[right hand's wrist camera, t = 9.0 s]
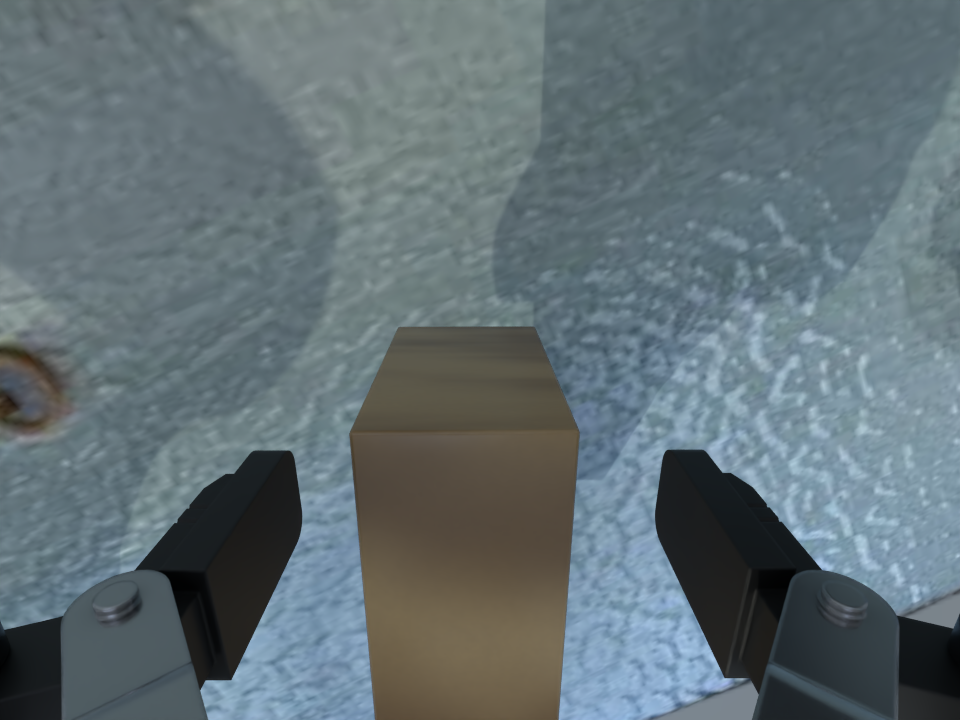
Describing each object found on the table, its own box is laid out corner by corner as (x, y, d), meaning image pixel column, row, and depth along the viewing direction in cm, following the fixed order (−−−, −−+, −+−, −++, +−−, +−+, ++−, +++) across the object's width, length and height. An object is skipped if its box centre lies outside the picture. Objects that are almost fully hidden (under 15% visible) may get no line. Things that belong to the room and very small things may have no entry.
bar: (397, 326, 19) (348, 432, 11) (535, 325, 19) (581, 430, 12) (422, 809, 28) (404, 1055, 21) (516, 807, 29) (534, 1051, 21)
